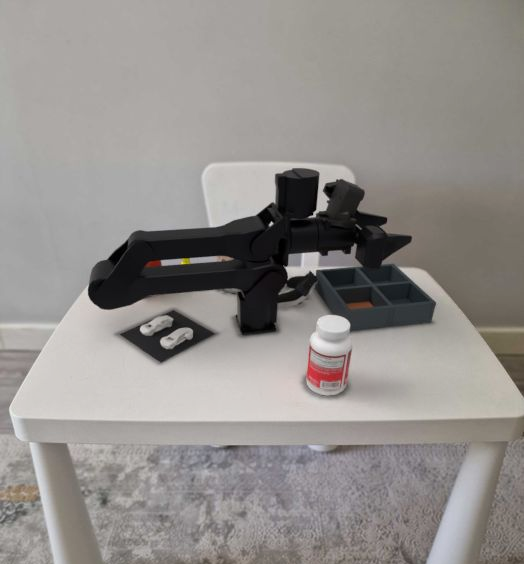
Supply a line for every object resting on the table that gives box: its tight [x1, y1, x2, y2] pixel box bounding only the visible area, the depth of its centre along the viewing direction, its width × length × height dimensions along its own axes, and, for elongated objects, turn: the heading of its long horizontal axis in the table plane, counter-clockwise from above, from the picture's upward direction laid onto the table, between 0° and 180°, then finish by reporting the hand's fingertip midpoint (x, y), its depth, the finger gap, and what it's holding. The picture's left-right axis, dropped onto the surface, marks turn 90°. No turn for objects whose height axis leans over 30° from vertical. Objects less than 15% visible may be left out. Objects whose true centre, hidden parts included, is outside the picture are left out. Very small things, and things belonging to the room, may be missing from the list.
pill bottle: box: [306, 314, 354, 396], centre depth 67 cm, size 6×6×11 cm
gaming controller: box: [276, 270, 318, 308], centre depth 91 cm, size 11×4×7 cm
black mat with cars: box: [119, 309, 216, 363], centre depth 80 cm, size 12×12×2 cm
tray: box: [314, 263, 437, 332], centre depth 90 cm, size 17×17×4 cm
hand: (398, 229), depth 79 cm, fingers open, 9 cm apart
